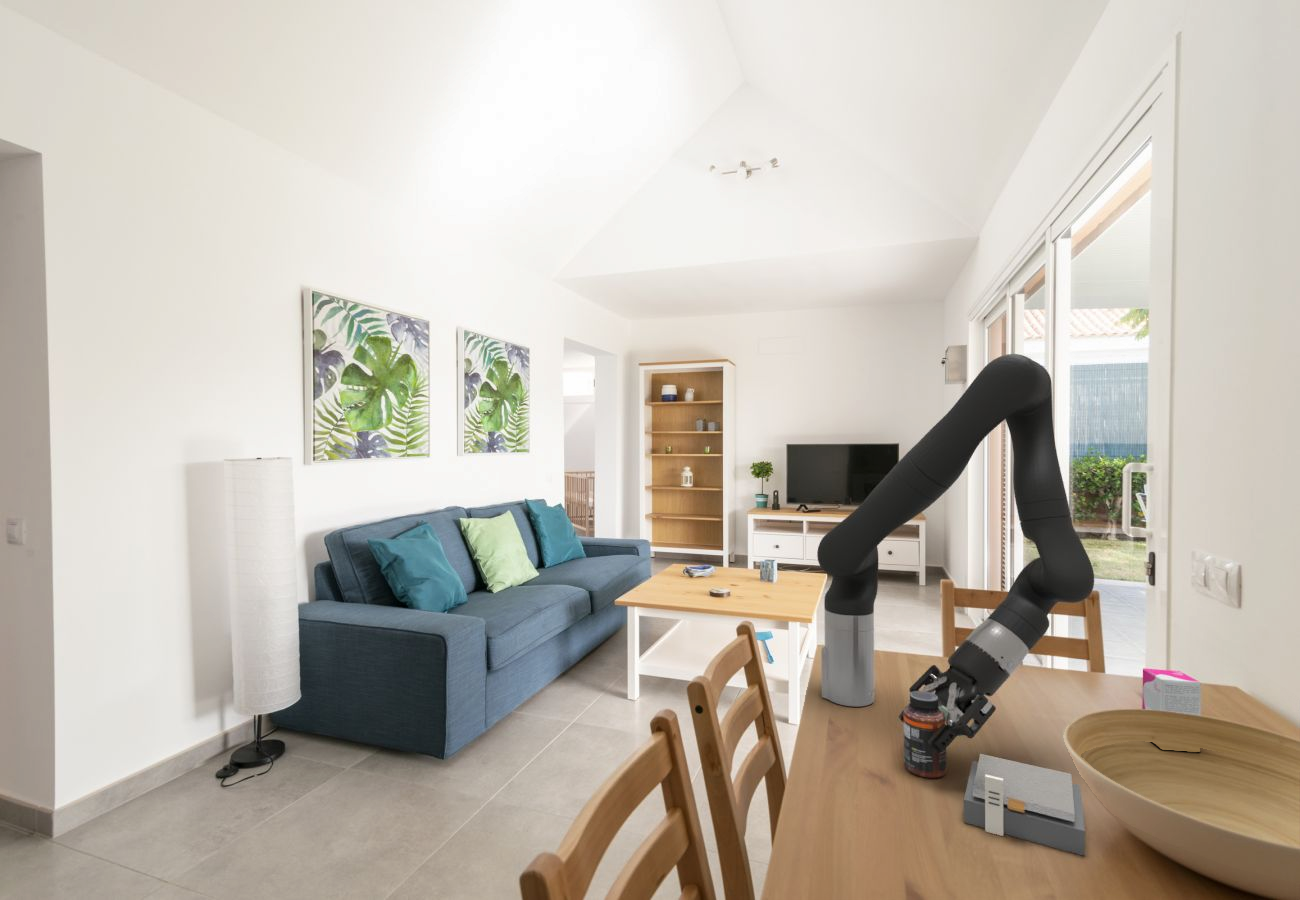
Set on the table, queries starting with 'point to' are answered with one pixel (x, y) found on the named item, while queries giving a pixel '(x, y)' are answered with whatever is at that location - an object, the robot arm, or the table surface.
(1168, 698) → the supplement box
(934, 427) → the robot arm
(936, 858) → the table surface
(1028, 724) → the table surface
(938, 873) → the table surface
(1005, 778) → the scale pan
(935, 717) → the supplement bottle
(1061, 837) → the scale base
